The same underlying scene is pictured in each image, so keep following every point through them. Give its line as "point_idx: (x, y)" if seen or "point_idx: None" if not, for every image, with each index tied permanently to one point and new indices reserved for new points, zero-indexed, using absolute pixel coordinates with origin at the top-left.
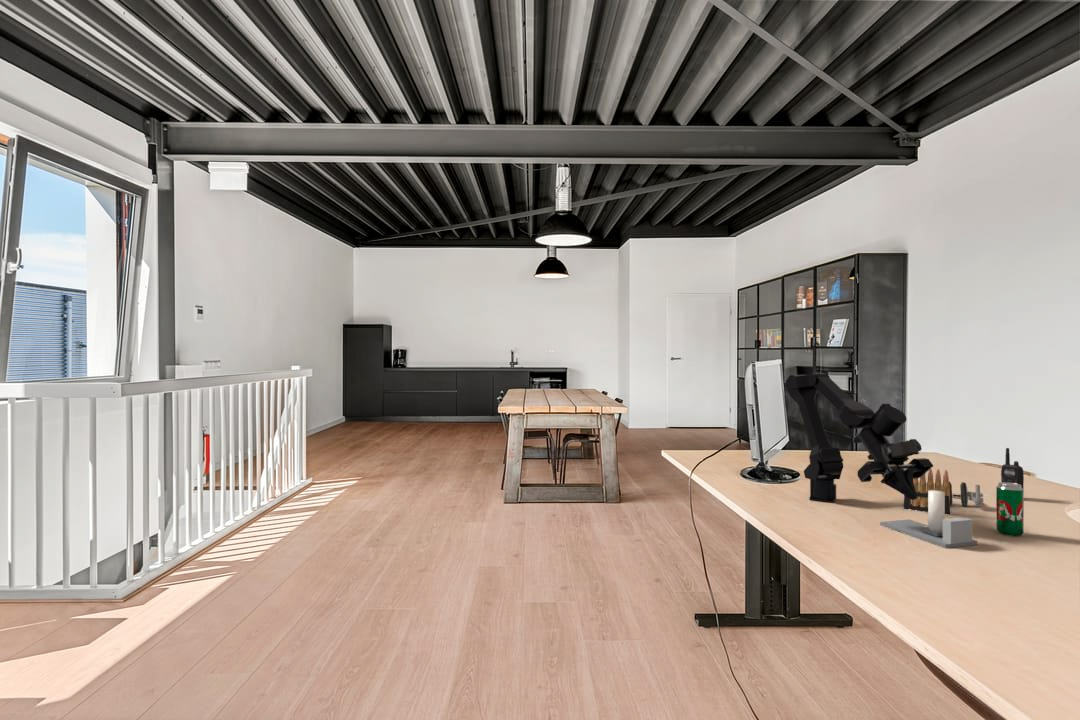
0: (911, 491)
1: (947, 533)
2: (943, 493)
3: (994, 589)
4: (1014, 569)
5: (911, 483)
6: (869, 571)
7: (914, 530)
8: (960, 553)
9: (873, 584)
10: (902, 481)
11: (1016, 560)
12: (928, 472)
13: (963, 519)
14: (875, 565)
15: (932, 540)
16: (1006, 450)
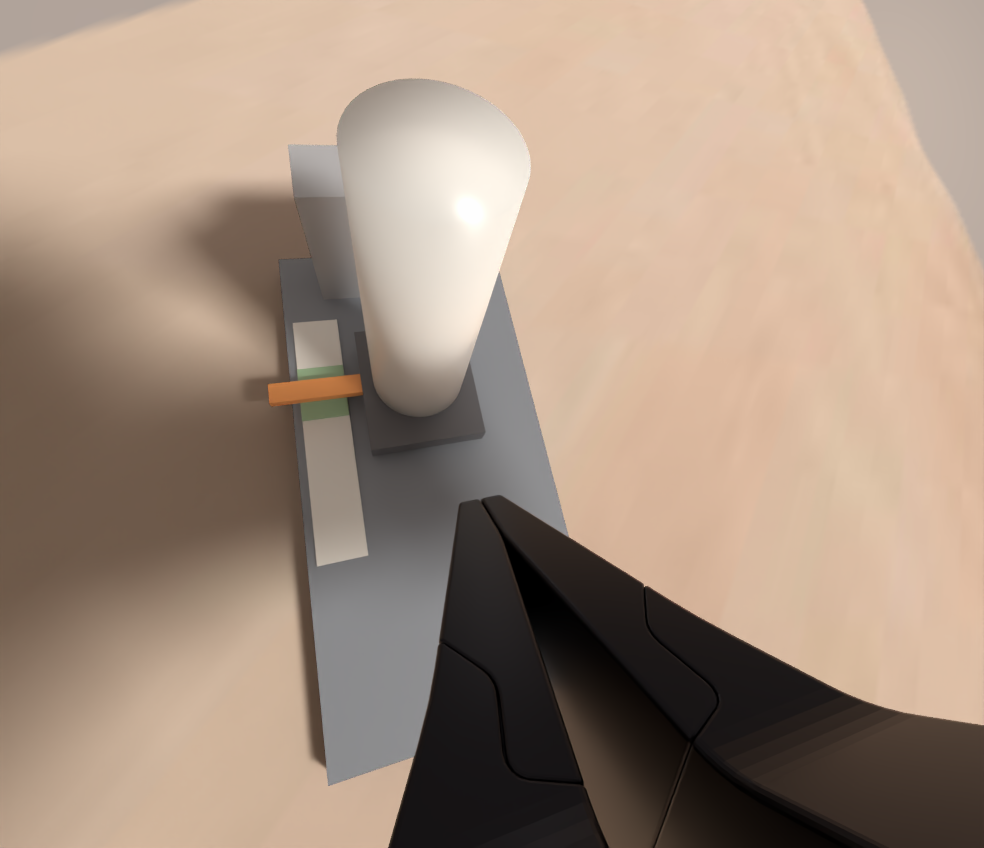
0: (531, 533)
1: None
2: (407, 80)
3: (596, 2)
4: (408, 57)
5: (494, 655)
6: (849, 153)
7: (495, 471)
8: None
9: (860, 97)
10: (724, 638)
11: (306, 103)
12: None
13: None
14: (822, 181)
15: (509, 312)
16: None
